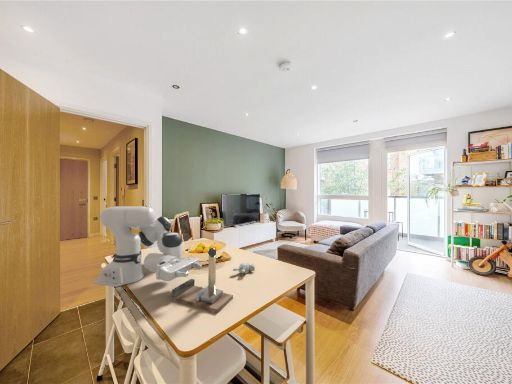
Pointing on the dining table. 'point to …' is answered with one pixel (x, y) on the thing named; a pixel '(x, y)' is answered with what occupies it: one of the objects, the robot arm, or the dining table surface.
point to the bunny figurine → (245, 268)
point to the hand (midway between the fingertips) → (194, 270)
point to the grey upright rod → (210, 282)
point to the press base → (188, 296)
